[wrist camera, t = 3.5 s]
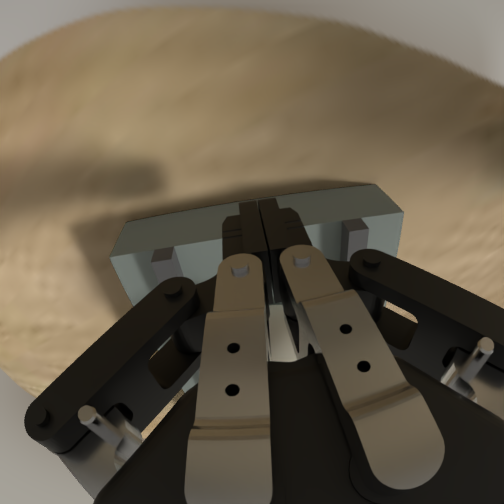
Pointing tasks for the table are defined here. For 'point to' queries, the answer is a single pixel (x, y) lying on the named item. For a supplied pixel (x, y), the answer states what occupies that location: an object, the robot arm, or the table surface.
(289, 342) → the plastic ball
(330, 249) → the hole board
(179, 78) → the table surface
